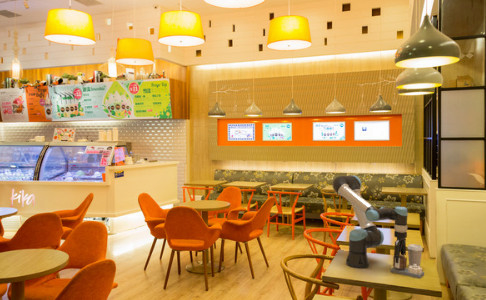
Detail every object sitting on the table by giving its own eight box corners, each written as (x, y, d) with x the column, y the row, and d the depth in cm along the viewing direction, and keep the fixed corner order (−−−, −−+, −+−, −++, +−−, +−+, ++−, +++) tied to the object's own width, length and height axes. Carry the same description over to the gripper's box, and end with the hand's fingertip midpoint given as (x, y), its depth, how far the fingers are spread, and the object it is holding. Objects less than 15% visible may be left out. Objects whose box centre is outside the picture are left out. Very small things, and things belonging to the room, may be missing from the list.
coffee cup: (423, 271, 257) (424, 248, 257) (408, 269, 259) (408, 247, 259) (420, 266, 267) (421, 244, 266) (405, 265, 269) (405, 243, 268)
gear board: (390, 271, 255) (390, 261, 254) (395, 268, 261) (395, 258, 261) (419, 278, 243) (419, 267, 243) (424, 275, 250) (424, 264, 249)
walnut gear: (403, 269, 250) (404, 259, 249) (391, 266, 255) (391, 257, 254) (408, 266, 255) (408, 257, 255) (395, 263, 261) (396, 254, 260)
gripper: (400, 234, 244) (399, 271, 245) (411, 229, 260) (410, 263, 260) (388, 232, 249) (387, 268, 250) (400, 227, 265) (399, 261, 265)
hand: (399, 266), depth 255 cm, fingers closed on walnut gear, 8 cm apart
